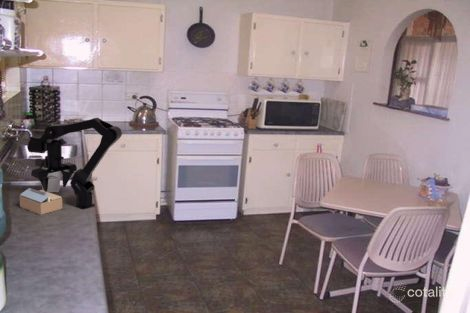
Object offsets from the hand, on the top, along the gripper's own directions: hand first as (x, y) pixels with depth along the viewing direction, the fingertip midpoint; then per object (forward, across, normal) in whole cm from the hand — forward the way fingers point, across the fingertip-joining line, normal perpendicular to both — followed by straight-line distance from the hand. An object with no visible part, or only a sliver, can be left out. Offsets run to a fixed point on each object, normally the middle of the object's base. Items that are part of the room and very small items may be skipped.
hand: (55, 189), depth 190 cm
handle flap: (0, +11, +2) cm, 11 cm away
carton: (+6, +8, +2) cm, 10 cm away
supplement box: (+7, -10, -16) cm, 20 cm away
